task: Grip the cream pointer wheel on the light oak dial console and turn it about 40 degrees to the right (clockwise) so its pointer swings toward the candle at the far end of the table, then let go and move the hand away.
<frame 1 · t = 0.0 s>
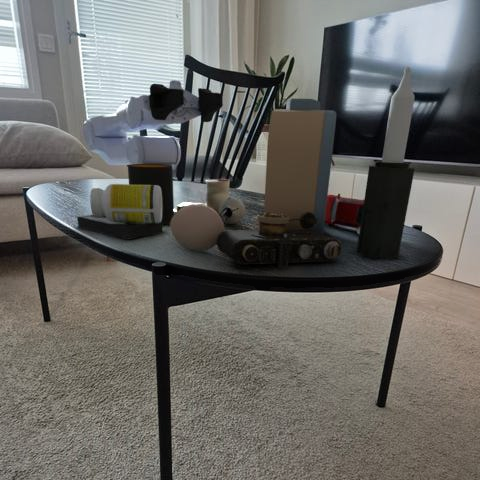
hand: (201, 98, 71), 22 cm above the table, tool horizontal, fingers open, 7 cm apart
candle: (376, 256, 65), on the table
egg: (218, 230, 60), point 4 cm above the table
mug: (156, 220, 85), on the table
toy car: (354, 213, 83), point 3 cm above the table
tall beige block: (296, 235, 77), on the table
vhs tape: (120, 231, 75), on the table, touching pill bottle
pill bottle: (162, 204, 70), point 5 cm above the table, touching vhs tape
dial console: (203, 217, 90), on the table
camera: (269, 232, 63), point 3 cm above the table
reed diffuser: (221, 232, 77), on the table, touching dial console
pointer wheel: (217, 192, 87), point 5 cm above the table, hinge at 0.0°
fairy figurine: (372, 240, 74), on the table
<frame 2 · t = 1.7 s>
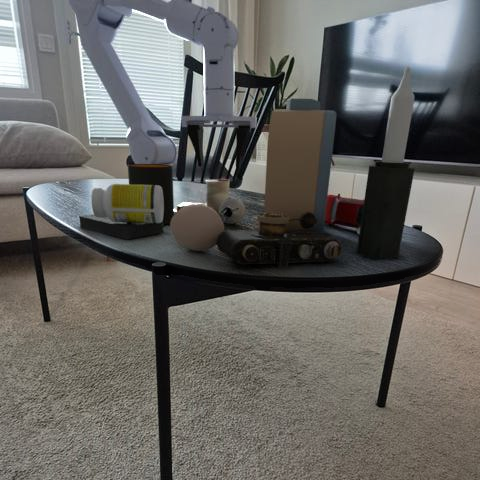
hand: (219, 166, 85), 10 cm above the table, tool pointing down, fingers open, 7 cm apart
nothing on the table moved.
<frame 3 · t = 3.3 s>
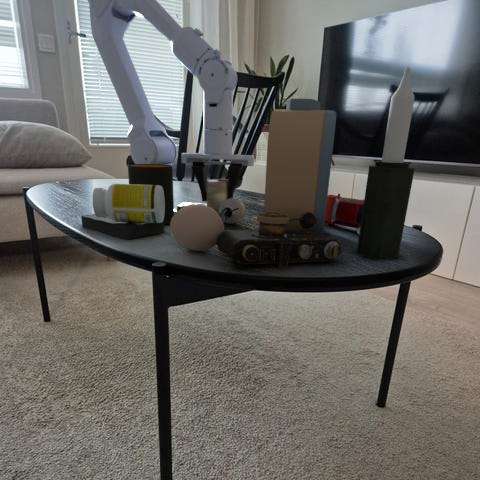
hand: (217, 201, 88), 3 cm above the table, tool pointing down, fingers closed on pointer wheel, 5 cm apart
reed diffuser: (221, 232, 77), on the table
pointer wheel: (217, 192, 87), point 5 cm above the table, hinge at 0.0°, touching gripper
everything else where it was.
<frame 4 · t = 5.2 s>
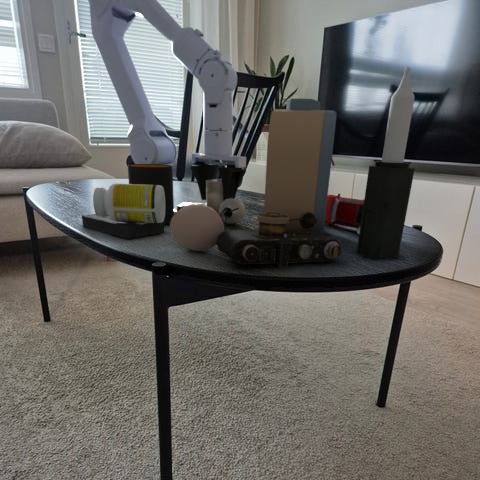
hand: (217, 201, 88), 3 cm above the table, tool pointing down, fingers open, 7 cm apart
reed diffuser: (221, 232, 77), on the table, touching dial console, gripper
pointer wheel: (217, 192, 87), point 5 cm above the table, hinge at -39.4°
everything else where it was.
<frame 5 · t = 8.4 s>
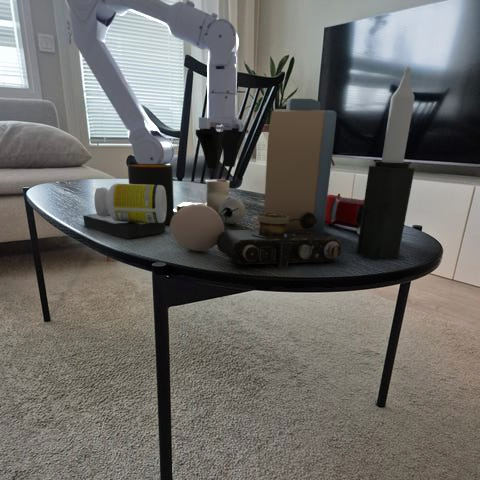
hand: (221, 167, 88), 10 cm above the table, tool pointing down, fingers open, 7 cm apart
reed diffuser: (220, 232, 77), on the table
everything else where it was.
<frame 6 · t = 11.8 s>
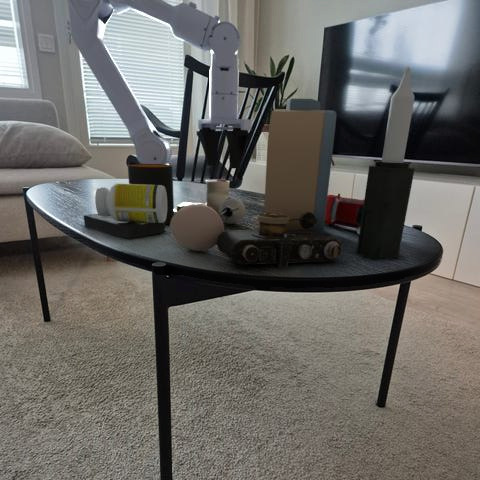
hand: (223, 167, 90), 10 cm above the table, tool pointing down, fingers open, 7 cm apart
reed diffuser: (220, 232, 77), on the table, touching dial console
at the end: pointer wheel at -39° (first picture: +0°); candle moved 0.2 cm from its start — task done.
